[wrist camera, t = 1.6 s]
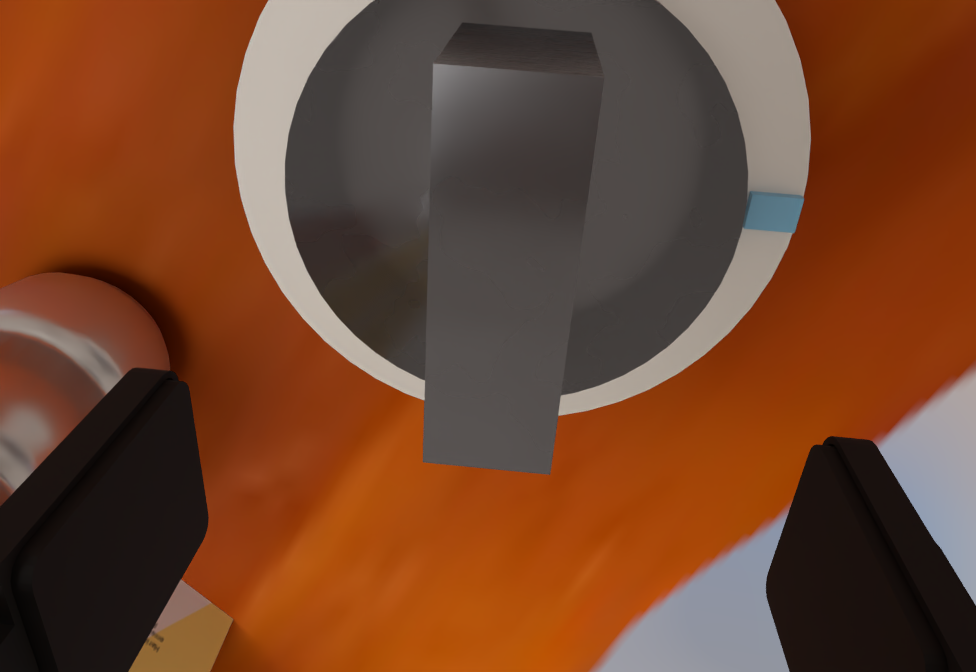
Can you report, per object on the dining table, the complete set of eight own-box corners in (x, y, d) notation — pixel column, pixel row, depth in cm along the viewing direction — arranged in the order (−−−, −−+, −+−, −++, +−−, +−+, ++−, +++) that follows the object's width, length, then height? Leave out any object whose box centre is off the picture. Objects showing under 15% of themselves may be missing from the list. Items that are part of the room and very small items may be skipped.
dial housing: (243, -164, 20) (193, -174, 17) (851, -120, 20) (902, -123, 17) (286, 348, 28) (257, 399, 25) (717, 388, 28) (736, 445, 25)
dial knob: (285, -69, 18) (167, -52, 13) (787, -30, 18) (895, 4, 12) (312, 354, 24) (240, 491, 19) (687, 389, 24) (728, 540, 18)
